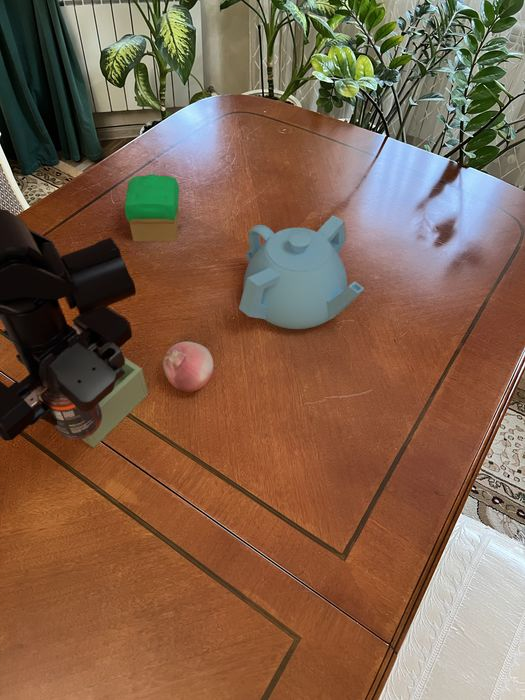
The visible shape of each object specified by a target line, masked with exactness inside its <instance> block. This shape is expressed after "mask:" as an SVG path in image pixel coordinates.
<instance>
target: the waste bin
mask: <svg viewBox="0 0 525 700" xmlns="http://www.w3.org/2000/svg"><path fill="white" fill-rule="evenodd" d="M124 358H125V364H124V366H123V367H122V369H123V370H124V371H125V374H124V375H122V376H121V377H120V378H119V379H118V380H117V381H116V382H115V385H114V389H113V391H112V392H111V393H110V394H108V395H107V396H106V397H105V398H104V399H103V400H101V401H100V402H99V406H100V409H101V413H102V421H101V424H100V426H99V428H98V429H97V430H96V431H95V432H94V433H93V434H92V435H91V436H89V437H87V438H84V439H81V441H83V442H85V443H86V444H87V445H88V446H89V447H91V448H93V449H94V448H96V447H97V446H98V445H99V444H100V442H102V441H103V440H104V439H105V438H106V437H107V436H108V435H109V434H110V433H111V432H112V431H113V430H114V429H115V428H116V427H117V426H118V425H119V424H120V423H121V422H122V421H123V420H124V419H125V418H126V417H127V416H128V415H130V413H132V411H133V410H134V409H135V408H137V406H139V405H140V403H142V401H144V400H145V399H146V397H147V396H149V392H148V387H147V383H146V379H145V375H144V371H143V368H142V367H140V366H139V365H137V364H136V363H135V362H132V361H131V360H129V359H128V358H127V357H125V356H124ZM39 399H40V400H41V401H42V399H41V397H40V395H39ZM42 402H43V401H42Z"/></svg>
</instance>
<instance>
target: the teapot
mask: <svg viewBox="0 0 525 700" xmlns="http://www.w3.org/2000/svg"><path fill="white" fill-rule="evenodd" d="M346 232H347V231H346V224H345V220H343V219H341V218H339V217H338V216H336V215H334V214H332V215H331V216H330V217H329V218H328V219H327V220H326V221H325V222H324V223H323V225H322V226H321V227H320V228H319V229H318V230H317V231H315V230H312V229H311V228H306V227H288V228H284V229H281V230H279V231H276V232H273V230H272V229H271V228H270V227H268V226H267V225H264V224H257V225H254V226H253V227H252V228H250V230H249V231H248V244H249V249H248V250H247V251H246V254H245V257H246V260H247V262H248V265H247V267H246V270H245V273H244V277H243V287H242V288H243V292H242V295H241V299H240V302H239V305H238V309H239V310H240V311H241V312H242V313H244V314H245V315H246V316H247V317H249V318H256V319H261V320H264V321H265V322H267V323H269V324H271V325H273V326H275V327H276V326H277V327H279V328H283V329H287V330H307V329H311V328H314V327H318V326H321V325H323V324H325V323H326V322H328V321H331V320H333V319H334V318H335V317H337V316H338V315H339V314H340V313H341V312H343V311H345V310H346V309H347V308H348V307H349V306H350V305H351V304H352V303H353V302H354V301H355V300H356V299H357V298H358V296H360V295H361V294H362V293H363V292H364V291H365V288H364V287H363V286H362V285H361V284H359V283H358V282H356V281H353V282H352V283H350V284H349V285H348V276H347V272H346V271H347V270H346V268H345V265H344V263H343V260H342V259H341V257H340V253H341V251H342V249H343V247H344V246H345V244H346V242H347V234H346ZM260 237H261V238H262V239H263V240H264V242H263V243H261V239H260Z"/></svg>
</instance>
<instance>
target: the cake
mask: <svg viewBox="0 0 525 700" xmlns="http://www.w3.org/2000/svg"><path fill="white" fill-rule="evenodd" d="M179 200H180V185H179V183H178V180H177V179H176V178H175V177H174V176H170V175H157V174H151V173H150V174H146V175H138V176H137V175H136V176H134V177H131V178H130V179H129V181H128V184H127V190H126V195H125V203H124V214H125V217H126V220H127V221H128V223H129V227H130V231H131V236H132V237H131V238H132V241H133V242H177V239H178V231H179V221H180V220H179V219H180V208H179Z"/></svg>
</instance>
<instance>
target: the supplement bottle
mask: <svg viewBox="0 0 525 700" xmlns="http://www.w3.org/2000/svg"><path fill="white" fill-rule="evenodd" d="M40 397H41V399H42V401H43V403H45V404H46V405H47V406H49V407H50V408H51V410H50V412H51V413H52V414H53V416H54V417H55V418H56V420H57V423H58V424H57V425H56V426H54V427H55V429H56V432H57V433H58V434H59V435H60V436H61V437H63V438H65V439H67V440H70V441H79V440H82V439H84V438H87V437H89V436H91V435H92V434H93V433H94V432H95V431H96V430H97V429H98V428H99V426H100V424H101V421H102V413H101V409H100V406H99V403H98V404H97V405H96V406H95V407H94V408H93V409H92V410H90V411H88V412H83V411H80V410H79V409H78V408H77V407H76V406H75V405H74V404H73V403H72V402H71V401H70V400H69V399H68V398H67V397H65V396H64V395H63V394H62V393H61V392H60V391H59V390H58V388H57V389H54V390H53V391H50V390H49V389H46V390H45V391H44V392H43V393H41V394H40Z"/></svg>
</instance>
